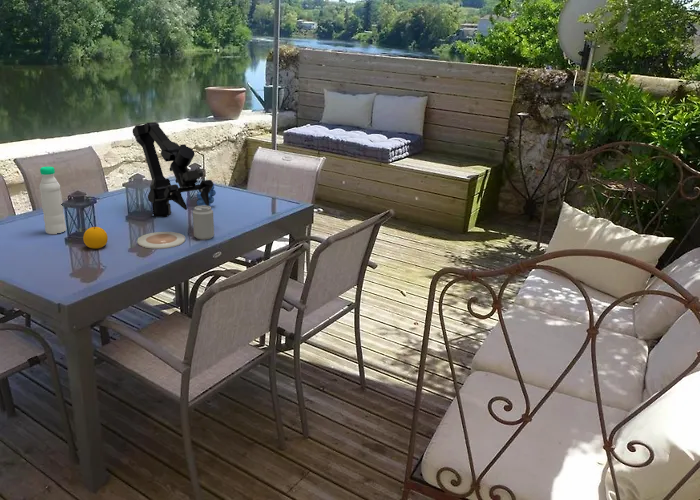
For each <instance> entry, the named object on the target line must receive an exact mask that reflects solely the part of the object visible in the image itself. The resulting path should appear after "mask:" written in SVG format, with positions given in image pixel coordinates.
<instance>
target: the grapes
mask: <svg viewBox="0 0 700 500" xmlns="http://www.w3.org/2000/svg"><path fill="white" fill-rule="evenodd" d="M216 193H217V192H216V189H215V184H214V185H213V187H212V189H211V190H210V192H209V206H210V207H211V204H213V203H214V201H215V198H214V196H215V195H216ZM200 194H201V193H200V192H199V191H198V192H197V193H196V198H197V200H196V205H197V206H202V205H205V206H207V205H206V204H205V202H204V200H203V199H202V197H201V195H200Z"/></svg>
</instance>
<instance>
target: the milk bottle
mask: <svg viewBox="0 0 700 500" xmlns="http://www.w3.org/2000/svg"><path fill="white" fill-rule="evenodd" d="M39 172H40V175H41V176H42V177H41V180H40V183H39V185H38V189H39V192H40V202H41V207H42V213H43V221H44V230H45V233H46V234H48V235H58V234H57V233H61V232H64V231H65V232H66V231H67V225H66V222H65V220H66V217H65V213H64V205H63V206H62V205H61V204H62V203H63V195H62V192H61V184H60V183H59V181H58V180H57V177H55V172H56V170H55V168H54V166H42V167H40V168H39ZM65 232H64V233H65ZM61 234H62V233H61Z"/></svg>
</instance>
